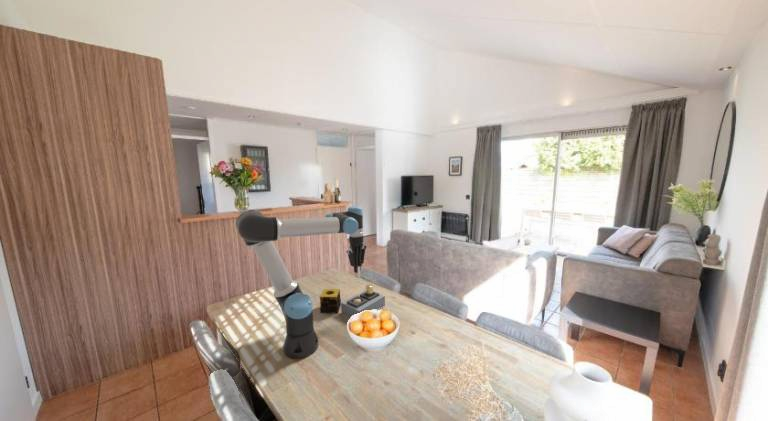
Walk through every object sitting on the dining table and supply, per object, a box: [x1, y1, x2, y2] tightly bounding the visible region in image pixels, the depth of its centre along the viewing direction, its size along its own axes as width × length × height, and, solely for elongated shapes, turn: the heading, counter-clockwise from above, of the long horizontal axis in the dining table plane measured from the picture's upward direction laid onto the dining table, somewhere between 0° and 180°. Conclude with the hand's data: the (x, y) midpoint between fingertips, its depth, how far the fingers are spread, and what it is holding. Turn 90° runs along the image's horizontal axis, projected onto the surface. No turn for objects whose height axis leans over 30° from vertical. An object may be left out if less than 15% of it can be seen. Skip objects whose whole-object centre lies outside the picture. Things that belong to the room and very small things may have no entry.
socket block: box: [340, 289, 386, 318], centre depth 155 cm, size 21×14×7 cm, turn 140°
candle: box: [319, 288, 342, 314], centre depth 156 cm, size 10×10×10 cm
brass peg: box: [365, 284, 374, 297], centre depth 158 cm, size 4×4×7 cm
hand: (357, 277), depth 149 cm, fingers closed
